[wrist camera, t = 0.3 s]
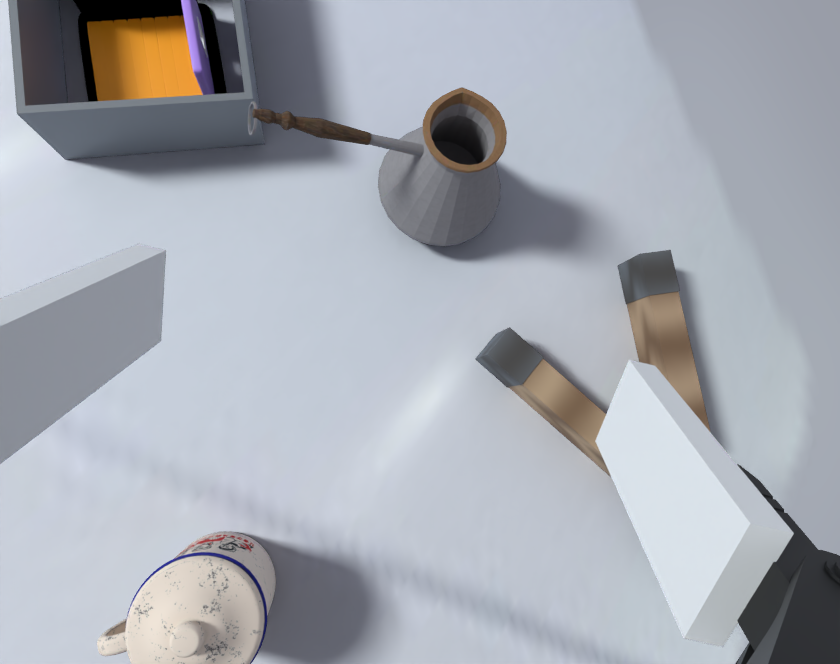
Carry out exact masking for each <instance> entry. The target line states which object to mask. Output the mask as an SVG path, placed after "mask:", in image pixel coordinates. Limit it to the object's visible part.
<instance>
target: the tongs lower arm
mask: <svg viewBox="0 0 840 664" xmlns="http://www.w3.org/2000/svg"><path fill="white" fill-rule="evenodd" d="M618 269H619V274H620V279H621V283H622V288H623V293H624V297H625V302H626V304H627V307H628V311H629V316H630V321H631V325H632V330H633V335H634V339H635V344H636V348H637V353H638V358H639V362H641V363H646V364H650V365H654V366H656V367H657V369H658V370H659V371H660V372H661V373H662V375H663V376H664V377H665V378H666V379H667V381H668V382H669V383H670V384H671V385H672V387H673V388H674V389H675V390H676V391H677V393H678V394H679V395H680V396H681V398H682V399H683V400H684V401H685V402H686V404H687V405H688V406H689V407H690V408H691V410H692V411H693V412H694V413H695V414H696V416H697V417H698V418H699V419H700V420H701V422H702V423H703V424H704V425H705V426H706V428H707V429H708V430H709V431H710V428H709V423H708V419H707V414H706V410H705V406H704V401H703V397H702V393H701V388H700V384H699V379H698V375H697V371H696V366H695V362H694V358H693V353H692V349H691V345H690V340H689V336H688V331H687V327H686V323H685V318H684V314H683V310H682V305H681V301H680V296H679V292H678V291H680V289H679V285H678V280H677V276H676V272H675V267H674V263H673V258H672V254H671V250H666V251H659V252H651V253H643V254H639V255H637V256H635V257H633V258H631V259H629V260H627V261H625V262H624V263H622V264H620V265H618ZM710 433H711V432H710Z"/></svg>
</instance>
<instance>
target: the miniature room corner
mask: <svg viewBox="0 0 840 664" xmlns="http://www.w3.org/2000/svg"><path fill="white" fill-rule="evenodd" d="M73 1H74V2H75V4H76V5H77V7H78V9H79V10H80V12H81V14H80V15H79V18H78V28H79V37H80V45H81V53H82V60H83V67H84V74H85V81H86V88H87V94H88V100H89V102H94V101H111V100H127V99H143V98H160V97H176V96H192V95H209V94H225V93H227V92H226V86H225V80H224V74H223V68H222V62H221V56H220V51H219V45H218V40H217V34H216V29H215V24H214V20H213V16H212V12H211V10H210V8H209V7H208V6H207V5H205V4H201V3H198V2H197V0H73Z"/></svg>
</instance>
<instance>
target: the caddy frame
mask: <svg viewBox="0 0 840 664" xmlns="http://www.w3.org/2000/svg"><path fill="white" fill-rule="evenodd" d="M232 3H233V11H234V18H235V26H236V33H237V41H238V48H239V56H240V63H241V71H242V78H243V86H244V92H241V93H225V94H209V95H192V96H176V97H160V98H143V99H127V100H111V101H94V102H78V103H68V101H67V90H66V78H65V67H64V56H63V45H62V34H61V23H60V12H59V1H58V0H8V4H9V17H10V30H11V43H12V56H13V69H14V82H15V95H16V108H17V114H18V115H19V116H20V117H21V118H22V119H23V120H24V121H25V122H26V123H27V124H28V125H29V126H30V127H32V128H33V129H34V130H35V131H36V132H37V133H38V134H39V135H40V136H41V137H42V138H43V139H44V140H45V141H46V142H47V143H48V144H49V145H50V146H52V147H53V148H54V149H55V150H56V151H57V152H58V153H59V154H60V155H61V156H62V157H63V158H64V159H65V160H67V159H80V158H92V157H105V156H118V155H131V154H144V153H157V152H169V151H182V150H195V149H208V148H221V147H234V146H246V145H259V144H265V143H264V136H263V128H262V121H260V120H258V119H257V126H256V131H255V134H254V135H253V136H251V135H250V134H249V132H248V113H249V107H250V104H251V102H253V101H254V102H256V105H257V109H260V106H259V99H258V92H257V84H256V77H255V70H254V63H253V55H252V48H251V41H250V33H249V26H248V19H247V11H246V4H245V0H232ZM253 109H254V105H253V107H252V112H253ZM252 112H251V124H250V125H251V132H252V130H253V127H254V118H253V117H252Z"/></svg>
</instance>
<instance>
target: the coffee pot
mask: <svg viewBox="0 0 840 664" xmlns="http://www.w3.org/2000/svg"><path fill="white" fill-rule="evenodd" d="M253 105H254V109H253V112H252V107H253ZM251 112H252V117H253V118H254V127H253V130H252V132H251V125H250V124H251ZM257 119H258V120H260V121H262V122H265V123H268V124H270V123H276V124H280V125H281V126H282V128H283V129H284V130H289V129H291V128H295V129H298V130H301V131H303V132H306V133H309V134H312V135H314V136H316V137H320V138H327V139H333V140H339V141H346V142H352V143H359V144H365V145H369V144H370V145H374V146H378V147H382V148H386V149H390V150H389V151H388V152H387V154H386V155H385V157H384V159H383V162H382V165H381V167H380V170H379V180H378V188H379V193H380V198H381V203H382V205H383V207H384V209H385V211H386V213H387V215H388V217H389V218H390V219H391V220H392V222H393V223H394V224H395V225H396V226H397V227H398V229H399V230H401V231H402V232H404V233H405V234H407V235H408V236H409V237H411V238H412V239H414V240H417V241H420V242H422V243H425V244H428V245H436V246H450V245H457V244H461V243H463V242H465V241H468V240H470V239H472V238H474V237H476V236H477V235H478V234H479V233H481V232H482V231H483V230H484V229H485V228H486V227H487V226H488V225H489V223H490V222H491V220H492V219H493V217H494V216H495V213H496V210H497V207H498V204H499V201H500V181H499V176H498V172H497V168H496V164H495V162H497V161H498V159H499V158H500V156H501V155H502V153H503V151H504V148H505V145H506V134H507V132H506V127H505V123H504V120H503V118H502V116H501V114H500V112H499V111H498V110H497V109H496V107H495V106H494V105H493V104H492V103H491V102H489V101H488V100H486V99H485V98H484V97H482V96H480V95H478V94H476V93H474V92H472V91H470V90H467V89H465V88H459V89H456V90H454V91H451V92H449V93H447V94H445V95H443V96H442V97H440V98H439V99H438V100H436V101H435V102H433V104H432V105H431V106H430V108H429V109H428V110H427V112H426V115H425V117H424V120H423V127H420V128H418V129H416V130H414V131H412V132H410V133H408V134H406V135H405V136H403V137H402V138H401V139H399V140H398V139H393V138H388V137H383V136H378V135H373V134H370V133H368V132H365V131H361V130H358V129H355V128H351V127H348V126H344V125H341V124H337V123H334V122H330V121H327V120H324V119H320V118H306V117H294V116H293V115H292V114H291V113H290V112H289V111H286V112H284V113H282V114H279V113H274V112H273V111H271V110H268V109H257V105H256V102H254V101H253V102H251V104H250V107H249V113H248V132H249V134H250V135H251V136H253V135H254V134H255V131H256V126H257Z"/></svg>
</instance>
